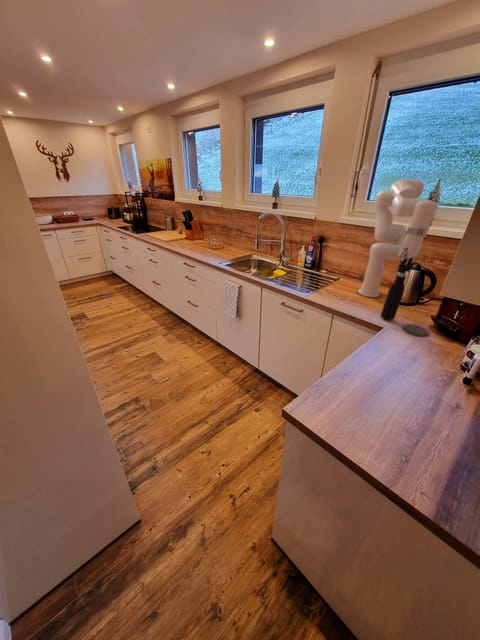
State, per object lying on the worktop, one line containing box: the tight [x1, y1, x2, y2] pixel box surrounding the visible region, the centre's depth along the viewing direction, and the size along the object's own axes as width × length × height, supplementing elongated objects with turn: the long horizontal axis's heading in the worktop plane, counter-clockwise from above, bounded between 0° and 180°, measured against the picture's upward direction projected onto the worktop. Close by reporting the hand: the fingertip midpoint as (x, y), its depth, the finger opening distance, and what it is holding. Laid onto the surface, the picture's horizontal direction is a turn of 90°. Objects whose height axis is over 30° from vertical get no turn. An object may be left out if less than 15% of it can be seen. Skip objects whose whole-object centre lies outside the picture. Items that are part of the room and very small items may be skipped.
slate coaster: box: [403, 323, 429, 337], centre depth 127 cm, size 10×10×1 cm
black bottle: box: [380, 259, 412, 321], centre depth 129 cm, size 6×6×30 cm
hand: (403, 271), depth 124 cm, fingers closed on black bottle, 3 cm apart
